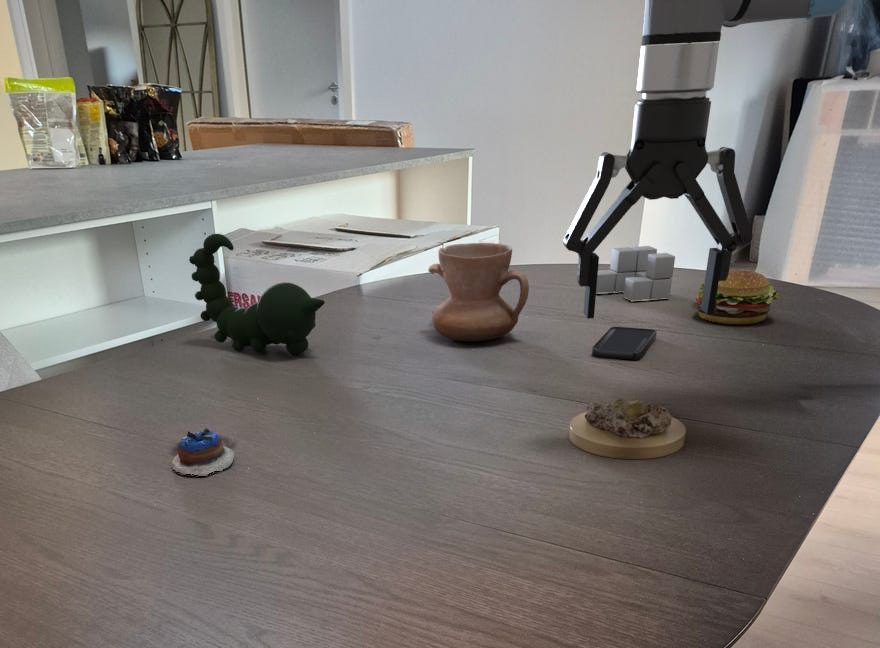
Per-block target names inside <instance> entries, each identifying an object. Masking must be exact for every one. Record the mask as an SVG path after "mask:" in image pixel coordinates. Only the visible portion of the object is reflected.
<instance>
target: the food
mask: <svg viewBox="0 0 880 648" xmlns="http://www.w3.org/2000/svg"><path fill="white" fill-rule="evenodd" d="M774 287H775V286H774V285H773V284H772V283H771V282H770V280H769V279H768V278H767V277H766V276H765V275H763V274H762V273H759V272H756V271H753V270H749V269H729V274H728V277H727V279H726V281H719V284H718V290H717V296H716V302H715V309H714V314H706V313H705V312H704V311H703V310H702V309H701V302H702V295H703V289H704V283H702V284H701V285H700V287H699V290H700V291H699V292H698V293H697V294H696V295H695V302H696V306H695V308H696V310H697V314H698V317H699V318H701V319H702V320H704V319H705V320H704V321H707V320H708V321H707V322H711V321H712V322H711V323H714V322H717V323H716V324H721V323H722V325H734V324H735V326H736V325H737V326H738V325H739V326H742V324H743V325H752V324H756V323H760V322H763V321H764V320H765V319H766V318H767V316H768V313H769V312H770V311H771V304H772V302H773V301H775V300H779V299H780V297H779V295H778V291H777V290H774V289H775V288H774Z"/></svg>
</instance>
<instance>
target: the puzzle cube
mask: <svg viewBox="0 0 880 648" xmlns="http://www.w3.org/2000/svg"><path fill="white" fill-rule="evenodd" d="M675 261H676V256H675V255H673V254H671V253H668V252H658V249H657V248H655V247H653V246H651V245H642V246H631V247H630V246H625V247H613V248H612V249H611V257H610V266H609V269H610V270H609V269H604V270H603V269H602V270H598V276H597V288H596V293H598V292H614V291H615V292H619V291H624V293H623V298H624V297H626V298H628V299H629V300H642V299H660V298H669V299H670V297H671V290H672V283H673V279H672V278H673V275H674V268H675Z"/></svg>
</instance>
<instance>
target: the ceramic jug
mask: <svg viewBox="0 0 880 648" xmlns="http://www.w3.org/2000/svg"><path fill="white" fill-rule="evenodd" d="M437 251H438V252H437V253H438V254H437V255H438V263H433V264H431V265H430V266H428V269H427V270H428V272H429V273H431V274H432V275H433V274H438V276H440V277H442V278H443V279H444V282H445V285H446V287H447V289H448V293H449V296H448V297H447V299H445V300H444V301H442V302H441V303H440V304H439V305H438V306H436V308H435V309H433V310H432V311H431V314H432V315H431V323H432V326H433V328H434V330H435V331H436V333H438V334H440V335H441V336H443V337H445V338H446V339H447V338H448V339H451V340H453V341H458V342H468V343H469V342H470V343H473V342H474V343H475V342H484V341H490V340H495V339H498V338H501V337H503V336H505V335H507V334H509V333H510V332H511V331H513V330H514V328H515V327H516V325H517V324H518V321H519V316H520V314H521V312H522V310H524V307H525V305H526V303H527V300H528V297H529V292H530V284H529V280H528V277H527V275H526V274H524V272H522V271H520V270H518V269H517V270H516V269H513V270H510V265H511V262H512V257H513V248H512V246H511V245H507V244H502V243H494V242H469V243H455V244H448V245H446V246H445V247H440V248H439V249H438V250H437ZM511 280H516V281H518V282H519V286H520V287H519V296H518V301H517V303H516V306H515V307H514V308H513V307H512V306H511V304H509V303H508V302H506V301H505V300H504V299H503V298H502V297H501V296H500V293H501V290H502V288H503V287H504V285H506V284H507V283H508V282H510V281H511Z"/></svg>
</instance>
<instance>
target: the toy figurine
mask: <svg viewBox="0 0 880 648" xmlns="http://www.w3.org/2000/svg"><path fill="white" fill-rule="evenodd" d="M202 245H203V247H200V248H197V249H196V250H195V251H194V253H193V254H192V255H191V256H190V257H189V259H188V260H189V263H190V264H191V265H194V266H195V268H196V270H195V271H193V272H192V273H191V279H192V281H194V282H198V283H199V285H201V286H200V291H195V293H194V297H195V299H196V300H197V301H203V302H204V303H206V304H205V310H202V311H201V313H200V319H201V320H202V321H203V322H210V320H211V321H212V322H215V323H216V327H217V329H218V330H216V331H215V332H214V339H215V341H216V342H218V343H220V344H222V343H224V342H226V341H227V339H228V338H229V339H231V340H232V344H231V345H232V348H233V350H234V351H235V352H242V351H244V349H245V347H247V348H248V347H251V349H252V350H253V351H255V352H258V353H261V352H263V351H264V350H265V349H266V348H267V346H268V345H276V346H277V345H285V349H286V351H287V353H288V354H290V355H292V356H295V355H297V356H300V355H301V354H305V352H306V351H307V350H308V348H309V341H308V338H307V337H308V336H309V335H310V334H311V332H312V330H313V329H315V327H316V315H317V313H316V312H317V311H318V310H320V309H321V307H323V306H324V305H325V303H326V302H325V300H324V299H321V298H315V297H311V295H310V294H309V293H308V291H306V290H305V289H304V288H303V287H301V286H300V285H298V284H295V283H292V282H288V281H282V282H277V283H274V284H273V285H271V286H269V287H268V288H266V289H265V291H264V292H263V293H262V294H261V295H260V297H259V299H258V301H256V302H253V303H252V304H250V305H249V306H248V307H240V308H239V307H237V306H234V303H233V301H232V300H231V298H230V297H228V295H227V290H226V286H225V284H224V283H223V282H222V281H220V280H221V272H220V270H219V267H218V266H217V265H216V264H215V256H214V254H216V253H217V252H218V251H219V249H220V248H222V247H223V248H227V249H228V250H230V251H233V250H234V249H235V248H234V245H233V242H232V241H231V240H230V239H229V238H228V237H227V236H225V235H224V234H222V233H211V234H209V235H208V236H207V237H206V238H205V239H204V241H203V244H202ZM241 350H242V351H241ZM299 354H300V355H299Z"/></svg>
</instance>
